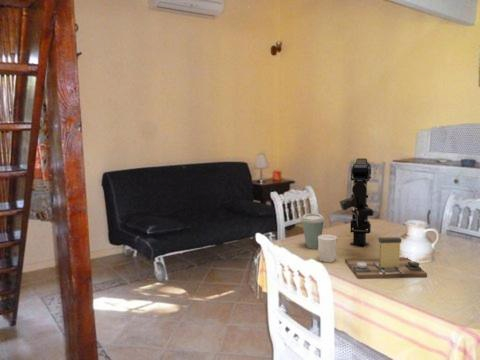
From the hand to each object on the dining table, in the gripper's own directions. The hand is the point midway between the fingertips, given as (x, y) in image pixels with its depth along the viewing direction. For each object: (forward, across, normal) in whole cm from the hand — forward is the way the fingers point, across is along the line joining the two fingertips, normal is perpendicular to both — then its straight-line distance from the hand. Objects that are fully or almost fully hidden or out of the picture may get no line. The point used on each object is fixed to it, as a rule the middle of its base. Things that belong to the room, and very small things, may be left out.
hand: (359, 227), depth 176 cm
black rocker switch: (+9, +23, +14) cm, 29 cm away
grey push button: (+9, +23, -6) cm, 26 cm away
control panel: (+12, +19, +4) cm, 23 cm away
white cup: (+12, +7, -16) cm, 21 cm away
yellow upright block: (+10, +25, +4) cm, 27 cm away
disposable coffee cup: (+12, -11, -18) cm, 25 cm away
